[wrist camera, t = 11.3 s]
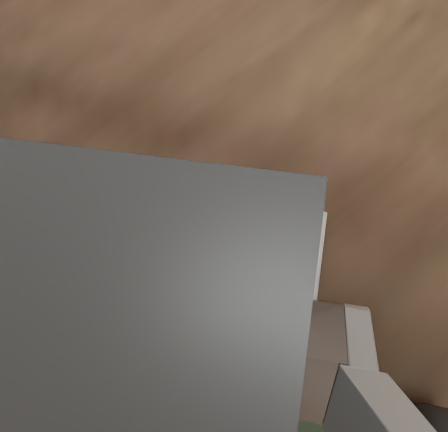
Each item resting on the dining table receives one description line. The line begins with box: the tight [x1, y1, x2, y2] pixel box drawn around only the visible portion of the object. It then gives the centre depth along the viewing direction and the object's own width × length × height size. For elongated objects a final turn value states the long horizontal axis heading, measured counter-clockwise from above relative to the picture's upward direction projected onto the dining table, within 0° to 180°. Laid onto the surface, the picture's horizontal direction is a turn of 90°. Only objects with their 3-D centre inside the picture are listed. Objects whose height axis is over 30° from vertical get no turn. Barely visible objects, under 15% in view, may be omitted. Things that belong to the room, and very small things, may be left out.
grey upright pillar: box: [0, 137, 328, 432], centre depth 9 cm, size 4×4×10 cm
